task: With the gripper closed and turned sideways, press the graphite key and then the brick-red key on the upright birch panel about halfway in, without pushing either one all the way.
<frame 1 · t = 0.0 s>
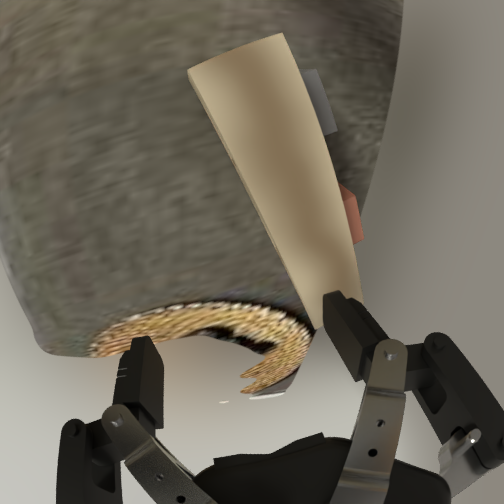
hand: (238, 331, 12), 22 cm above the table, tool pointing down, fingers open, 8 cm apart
graphite key: (297, 103, 19), point 9 cm above the table, slide at 0.0 cm
key panel: (253, 154, 30), on the table
brick red key: (333, 212, 26), point 9 cm above the table, slide at 0.0 cm
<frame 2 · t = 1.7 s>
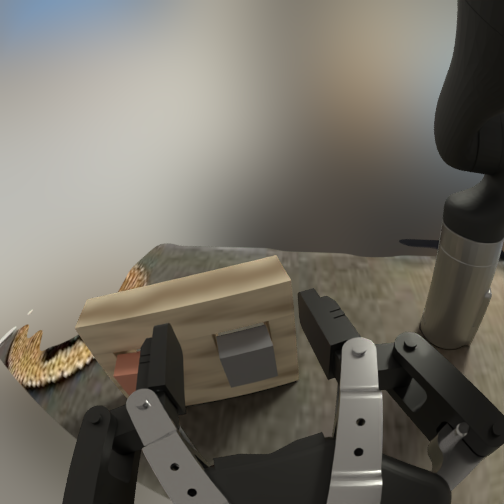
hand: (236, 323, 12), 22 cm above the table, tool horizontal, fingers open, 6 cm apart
graphite key: (247, 357, 26), point 9 cm above the table, slide at 0.0 cm
key panel: (213, 385, 34), on the table
brick red key: (146, 377, 25), point 9 cm above the table, slide at 0.0 cm
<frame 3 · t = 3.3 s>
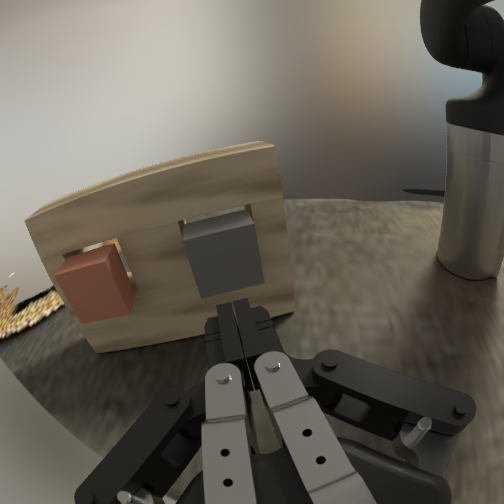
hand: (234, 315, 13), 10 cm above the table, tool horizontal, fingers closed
graphite key: (223, 253, 21), point 9 cm above the table, slide at 0.0 cm
key panel: (188, 321, 28), on the table
brick red key: (96, 285, 20), point 9 cm above the table, slide at 0.0 cm
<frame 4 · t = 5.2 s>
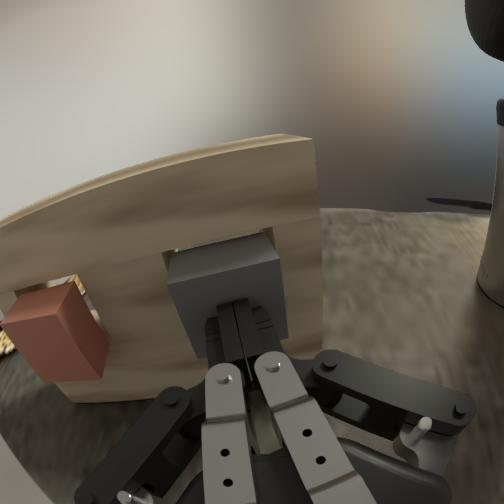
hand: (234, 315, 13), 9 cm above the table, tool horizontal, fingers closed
graphite key: (230, 297, 14), point 9 cm above the table, slide at 0.5 cm, touching gripper
key panel: (182, 370, 21), on the table
brick red key: (55, 336, 13), point 9 cm above the table, slide at 0.0 cm
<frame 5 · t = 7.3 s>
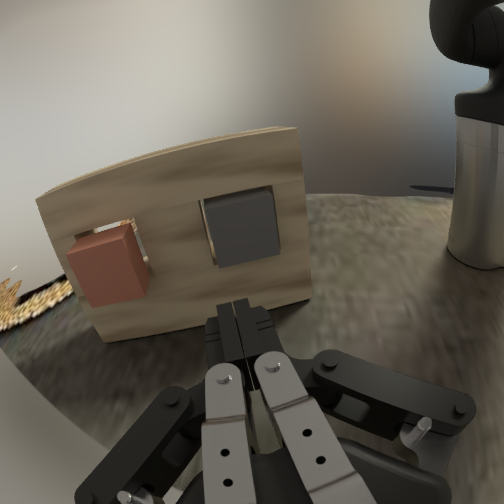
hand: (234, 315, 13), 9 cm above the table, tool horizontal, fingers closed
graphite key: (241, 225, 22), point 9 cm above the table, slide at 1.6 cm
key panel: (201, 309, 28), on the table
brick red key: (109, 266, 20), point 9 cm above the table, slide at 0.0 cm
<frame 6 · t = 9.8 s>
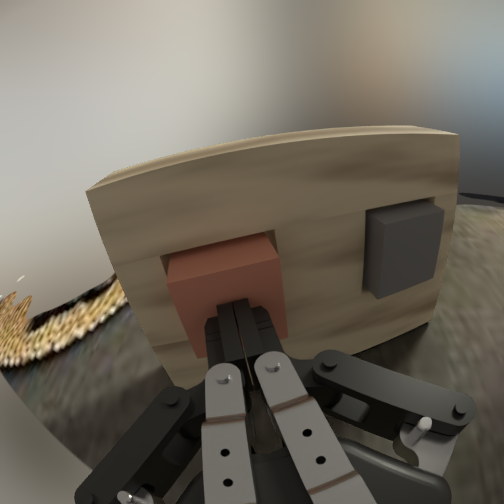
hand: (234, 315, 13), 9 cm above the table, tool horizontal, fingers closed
graphite key: (399, 244, 16), point 9 cm above the table, slide at 1.6 cm
key panel: (312, 343, 22), on the table
brick red key: (229, 296, 14), point 9 cm above the table, slide at 1.0 cm, touching gripper
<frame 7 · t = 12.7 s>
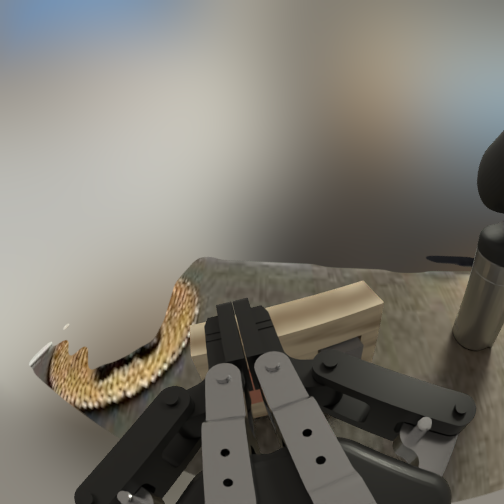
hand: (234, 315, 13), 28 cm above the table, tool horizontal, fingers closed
graphite key: (338, 356, 32), point 9 cm above the table, slide at 1.6 cm
key panel: (294, 393, 37), on the table
brick red key: (253, 382, 30), point 9 cm above the table, slide at 1.6 cm
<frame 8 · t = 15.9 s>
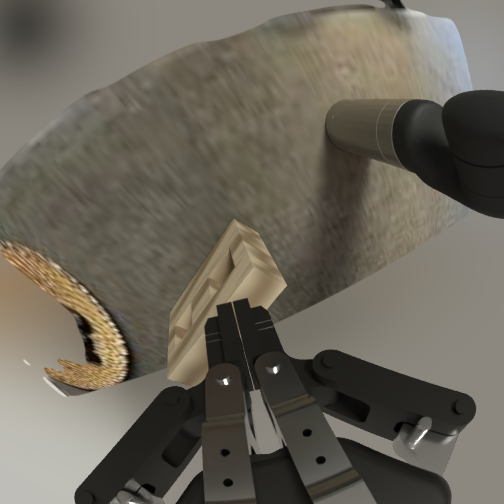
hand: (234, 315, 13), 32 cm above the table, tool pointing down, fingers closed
key panel: (210, 276, 49), on the table
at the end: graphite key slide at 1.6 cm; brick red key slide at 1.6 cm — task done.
